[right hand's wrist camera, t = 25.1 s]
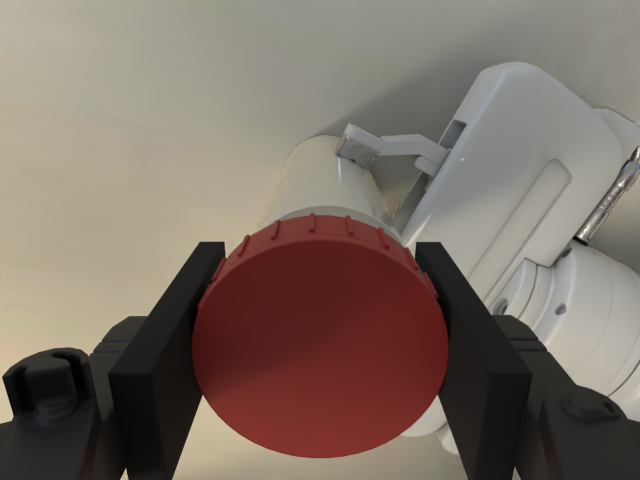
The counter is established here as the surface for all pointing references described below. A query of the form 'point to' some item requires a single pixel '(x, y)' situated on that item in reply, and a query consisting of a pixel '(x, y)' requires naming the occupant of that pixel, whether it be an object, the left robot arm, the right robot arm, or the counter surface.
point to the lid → (320, 338)
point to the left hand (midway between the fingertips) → (309, 199)
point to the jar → (326, 188)
